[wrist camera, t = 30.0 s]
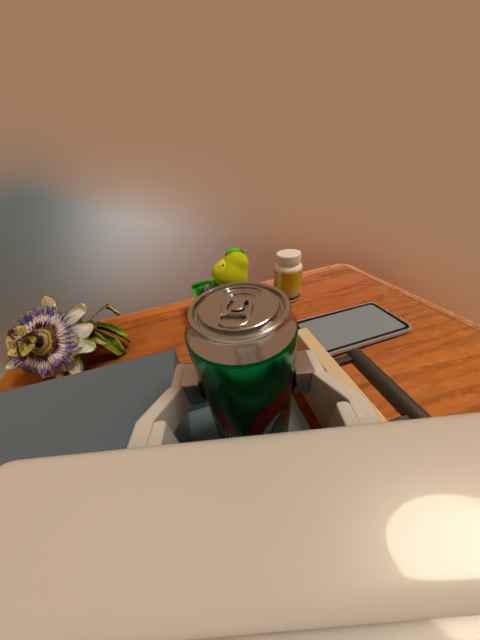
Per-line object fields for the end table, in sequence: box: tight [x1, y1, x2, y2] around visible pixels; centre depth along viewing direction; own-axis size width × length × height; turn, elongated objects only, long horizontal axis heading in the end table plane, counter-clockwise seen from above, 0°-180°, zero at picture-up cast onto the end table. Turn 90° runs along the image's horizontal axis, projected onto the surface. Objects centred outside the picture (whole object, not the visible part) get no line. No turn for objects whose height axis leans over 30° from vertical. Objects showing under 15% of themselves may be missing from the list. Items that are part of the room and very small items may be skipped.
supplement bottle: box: [274, 249, 302, 303], centre depth 36 cm, size 5×5×8 cm
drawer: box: [178, 328, 431, 443], centre depth 16 cm, size 18×12×7 cm, turn 105°
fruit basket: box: [191, 247, 248, 298], centre depth 31 cm, size 11×9×11 cm
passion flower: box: [5, 295, 130, 380], centre depth 28 cm, size 11×11×12 cm
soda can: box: [185, 282, 298, 439], centre depth 12 cm, size 5×5×12 cm
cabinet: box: [0, 349, 180, 466], centre depth 13 cm, size 15×13×9 cm
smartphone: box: [297, 302, 411, 356], centre depth 29 cm, size 7×1×15 cm
